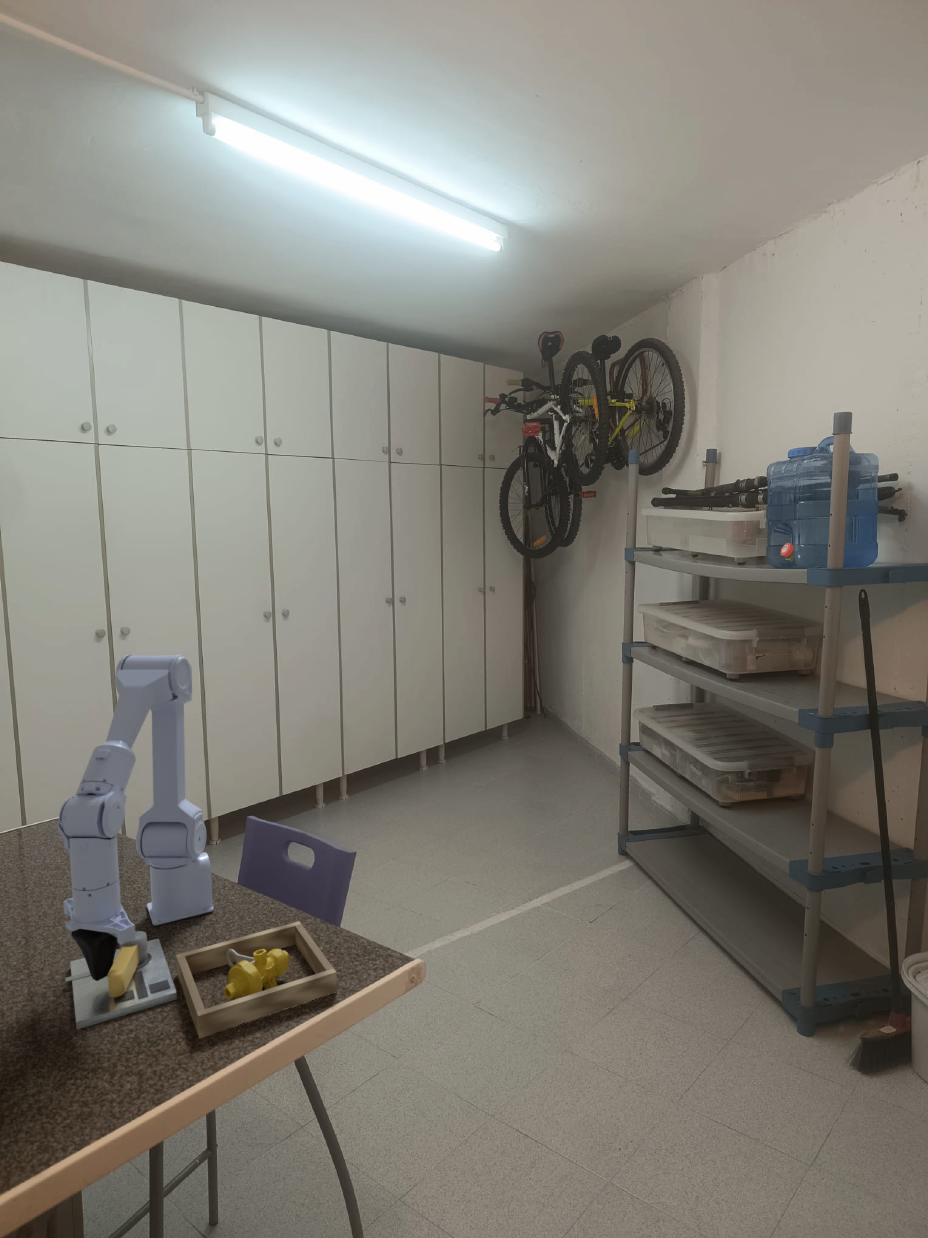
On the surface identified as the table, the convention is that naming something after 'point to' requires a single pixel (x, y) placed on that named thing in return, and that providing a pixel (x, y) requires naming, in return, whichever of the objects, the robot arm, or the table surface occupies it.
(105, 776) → the robot arm
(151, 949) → the base
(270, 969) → the pressure relief valve
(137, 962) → the handle
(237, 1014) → the parts frame
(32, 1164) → the table surface
